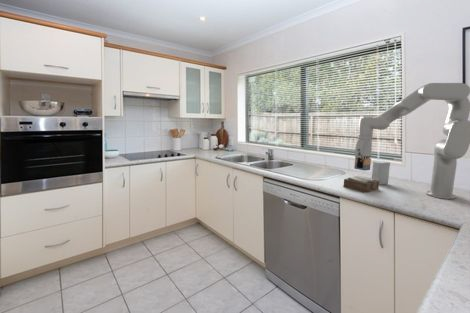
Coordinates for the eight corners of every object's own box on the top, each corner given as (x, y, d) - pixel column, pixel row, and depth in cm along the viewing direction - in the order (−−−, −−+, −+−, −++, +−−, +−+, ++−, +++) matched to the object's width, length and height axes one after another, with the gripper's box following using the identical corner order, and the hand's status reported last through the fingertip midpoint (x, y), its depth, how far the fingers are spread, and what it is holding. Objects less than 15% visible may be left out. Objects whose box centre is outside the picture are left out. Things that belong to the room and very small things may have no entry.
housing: (359, 167, 155) (360, 156, 154) (370, 169, 149) (371, 158, 148) (354, 168, 152) (355, 157, 151) (365, 170, 146) (366, 159, 145)
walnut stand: (356, 183, 162) (357, 175, 161) (378, 189, 150) (379, 179, 149) (343, 186, 154) (344, 177, 154) (365, 192, 143) (365, 182, 142)
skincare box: (381, 182, 167) (383, 160, 164) (388, 184, 161) (390, 162, 159) (370, 182, 165) (372, 161, 163) (377, 185, 159) (379, 162, 157)
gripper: (367, 136, 155) (364, 165, 158) (350, 137, 146) (348, 167, 149) (379, 137, 149) (376, 167, 151) (362, 138, 140) (359, 169, 143)
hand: (362, 167), depth 150 cm, fingers closed on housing, 5 cm apart
